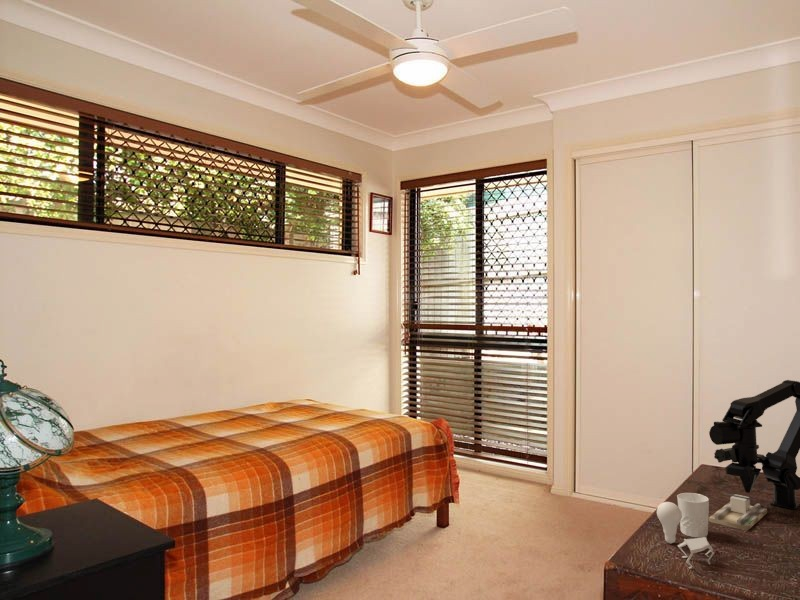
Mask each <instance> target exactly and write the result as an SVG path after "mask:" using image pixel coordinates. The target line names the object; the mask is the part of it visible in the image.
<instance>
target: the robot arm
mask: <svg viewBox="0 0 800 600" xmlns="http://www.w3.org/2000/svg"><path fill="white" fill-rule="evenodd" d="M791 397H793V398H795V401H794V402H795V407H796V412H795V413H794V415H793V418H792V419H791V421H790V423H789V426H788V427H787V430H786V432H785V434H784V435H783V439H782V440H781V443H780V444H779V446H778V449H777V450H776V451H775V452H773V453H772V452H771V451H769V452H767V453H766V454H765V455H764V454H761V453H760V454H759V453H758V451H757V450H759V448H760V446H759V445H760V444H757V428H762V427H763V424H762V423H761V422H759V421H758V419H759V418H761V417H762V416H763V415H764V414H765V411H766V410H768V409H769V408H771V407H773V406H775V405H777V404H779V403H782V402H784V401H785V400H788V399H790V398H791ZM708 434H709V438H710V440H711V442H712V443H713V444H715V445H718V446H719V445H729V444H733V445H732V446H731V447H727V448H720V449H719V448H717V449H715V452H714V459H716V460H717V463H722V462H728V461H731V463H730V464H729V463H728V465H726V466H725V474H726V475H730V476H735V477H739V478H740V480H741V483H742V486H743V488H744V492H745V493H748V494H750V493H751V492H752V490H753V487H754V486H755V483H756V480H757V479H758V477H759V475H760V473H761V471H762V473H763V475H764V476H765V479H766V481H767V482H768V483H771V484H773V500H772V501H771V502H770V505H771V506H776V507H780V508H785V509H790V510H796V509H797V508H798V507H799V506H800V502H798V501H797V491H799V490H800V477H799V476H798V475H797V474H796V473H797V470H798V465H797V460H796V459H797V456H798V454H799V452H800V381H797V380H791V379H786V380H783V381H782V382H781V383H778V384H777V385H775V386H773V387H771V388H769V389H766V390H765V391H763V392H761V393H758V394H756V395H754V396H748V397H742V398H739V399H735V400H733V401H732V402H730V406H729V408H728V410H727V411H726V413H725V415H724V417H723V418H722V421H713V425H712V426H711V427H710V429H709V431H708ZM756 464H761V468H758V467H757V466H756Z"/></svg>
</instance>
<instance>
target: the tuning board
mask: <svg viewBox="0 0 800 600" xmlns="http://www.w3.org/2000/svg"><path fill="white" fill-rule="evenodd" d="M767 514H768V509H767V508H766V507H765V508H764V507H761V503H755V504H754V505H750V510H748V511H747V512H746V513H745V514H742V513H738V512H733V511H731V504H730V501H729V502H728V503H726V504H725V505H724V506H722V507H721V508H719V509H718V510H717V511H715V512H714V513H713V514H711V515H709V519H708V523H712V524H718V525H721V526H725V527H729V528H734V529H738V530H742V531H746V532H747V531H749V530H750V529H751V528H752V527H753V526H754V525H755V524H757V523H758V522H759V521H761V519H762V518H763V517H765V516H766V515H767Z"/></svg>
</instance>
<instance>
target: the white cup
mask: <svg viewBox="0 0 800 600" xmlns="http://www.w3.org/2000/svg"><path fill="white" fill-rule="evenodd" d="M676 497H677V498H676V499H677V500H676V501H677V506H678V507H679V509H680V510H681V513H682V518H681V521H680V523H679V526H680V528H679V529H680V532H681V533H682V534H683V535H685V536H687V537H691V538H702V537H706V538H707V537H708V534H709V517H710V515H709V509H710V508H709V506H710V503H709V501H710V499H709V498H708V496H706V495H703V494H701V493H694V492H683V493H679V494H677V495H676Z"/></svg>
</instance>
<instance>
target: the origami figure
mask: <svg viewBox="0 0 800 600" xmlns="http://www.w3.org/2000/svg"><path fill="white" fill-rule="evenodd" d="M685 546H687V547H688V549H689V552H690V554H689V556H688V555H687V554H686V552H685V551H684V550H683V547H685ZM677 547H678V548H679V550H680V551H681V552H682V553H683V554H684V555H683V556H681V558H683V559H686V558H687V560H686V561H685V563H686V564H687V565H688V566H689V567H688V568H689V569H688V570H690V569H692V568H693V565H692V563H690V560H691V559H692V557H693V555H694V554H696V553H699V552H703V551H705V550H707V549H709V550H708V551H707V552H706V553H705V556H706V557H707V558H708V559H707V564H708V565H711V562H710V560H711V558H712V557H713V556H714V554H715V552H714V548H713V547H712V545H711V544H710V543H709V541H708V538H707V536H706V537H702V538H697V537H694V538H687V539H686V538H683V542H680V543H679V544H677ZM710 553H711V554H710ZM708 554H710V556H709V555H708Z"/></svg>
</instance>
